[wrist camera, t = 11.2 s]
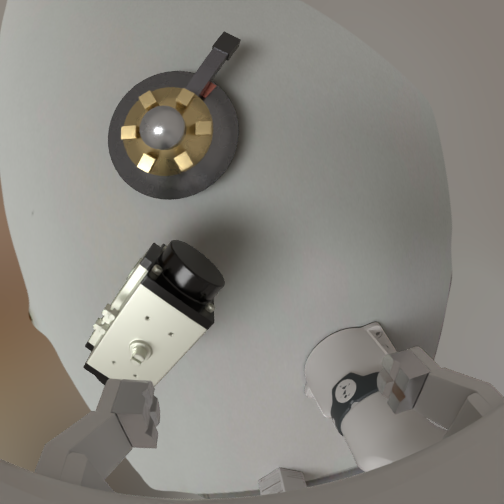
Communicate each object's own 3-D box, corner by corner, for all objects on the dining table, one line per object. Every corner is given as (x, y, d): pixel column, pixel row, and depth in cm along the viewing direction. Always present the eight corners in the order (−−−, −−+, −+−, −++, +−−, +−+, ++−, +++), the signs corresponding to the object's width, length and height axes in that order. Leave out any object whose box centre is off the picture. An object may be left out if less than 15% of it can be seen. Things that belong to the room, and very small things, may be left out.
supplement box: (303, 471, 61) (317, 514, 47) (281, 485, 63) (291, 526, 49) (279, 466, 59) (291, 513, 45) (256, 480, 60) (265, 524, 46)
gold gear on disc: (261, 125, 35) (277, 114, 26) (184, 220, 38) (176, 239, 29) (168, 56, 31) (155, 28, 22) (94, 152, 33) (61, 151, 24)
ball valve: (173, 210, 37) (143, 251, 21) (223, 249, 40) (231, 315, 23) (106, 305, 40) (61, 381, 23) (151, 336, 43) (128, 422, 26)
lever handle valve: (185, 189, 34) (182, 193, 30) (115, 152, 31) (103, 151, 27) (266, 62, 30) (272, 51, 26) (196, 27, 27) (194, 12, 23)
